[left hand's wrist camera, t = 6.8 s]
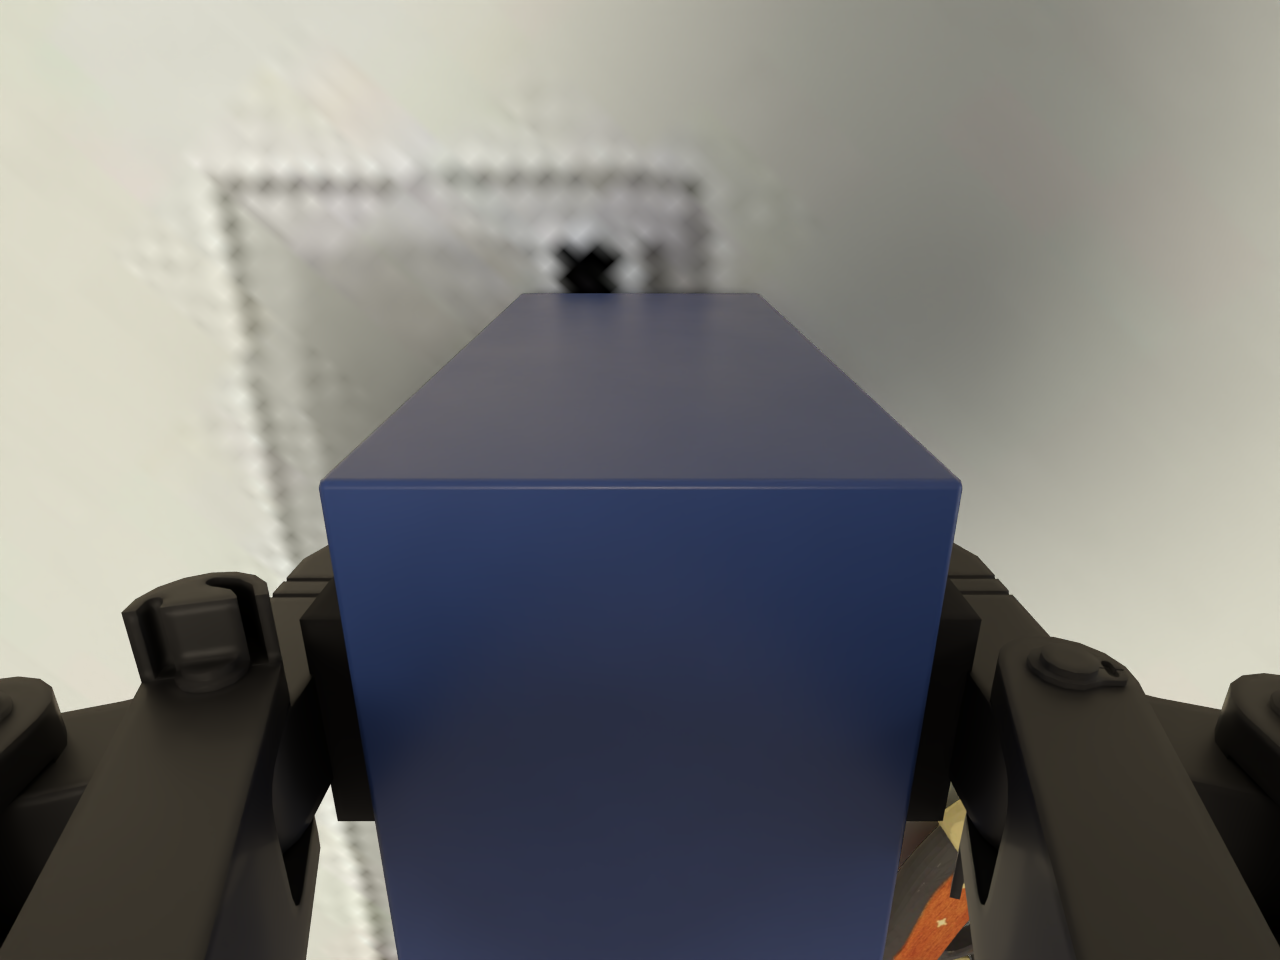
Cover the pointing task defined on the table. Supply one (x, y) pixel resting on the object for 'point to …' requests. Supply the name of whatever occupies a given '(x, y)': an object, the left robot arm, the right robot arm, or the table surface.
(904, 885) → the toy gun
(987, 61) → the table surface
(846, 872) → the block
